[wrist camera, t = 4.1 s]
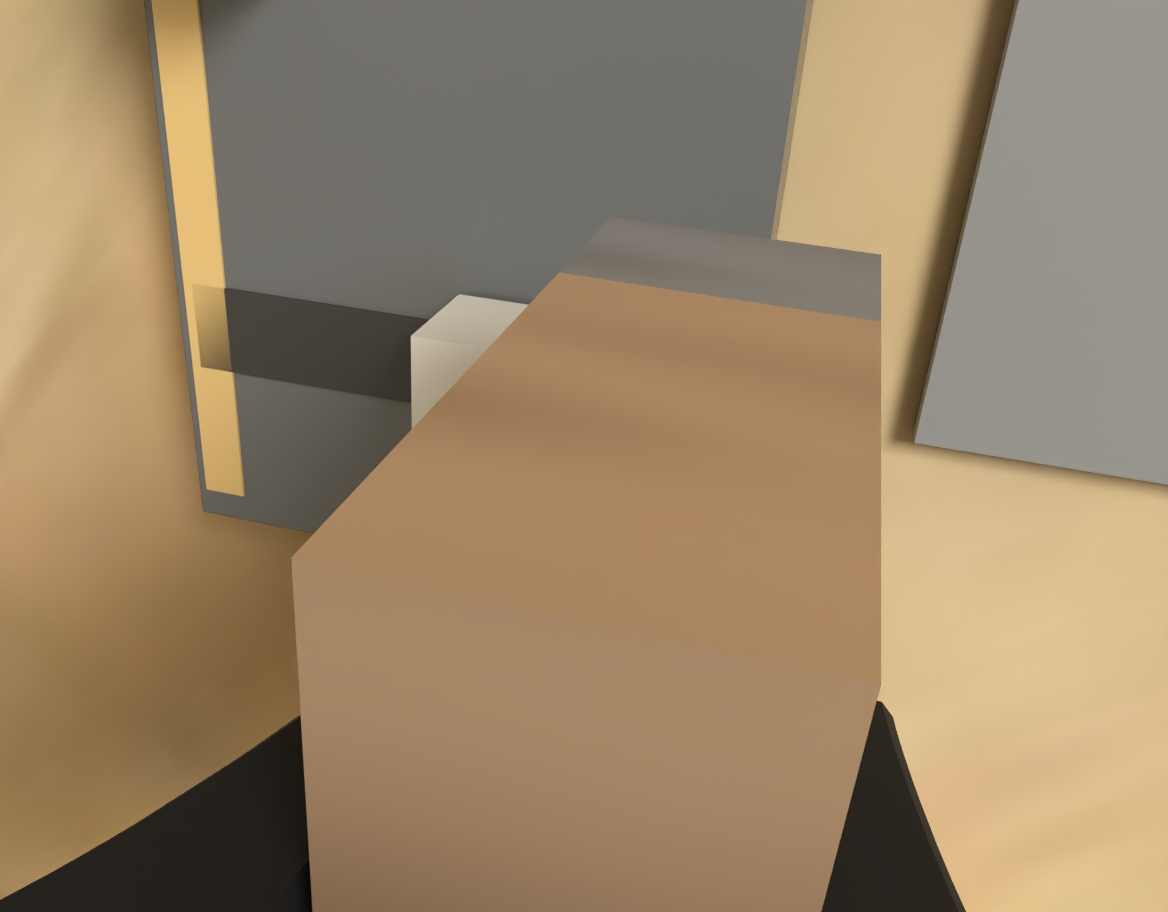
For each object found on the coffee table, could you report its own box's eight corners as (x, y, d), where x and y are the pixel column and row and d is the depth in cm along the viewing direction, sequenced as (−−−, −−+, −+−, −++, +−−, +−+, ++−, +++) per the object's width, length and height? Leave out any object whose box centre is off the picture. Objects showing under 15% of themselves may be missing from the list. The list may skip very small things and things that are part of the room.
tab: (556, 459, 16) (520, 517, 15) (457, 441, 16) (412, 495, 15) (565, 310, 15) (528, 354, 13) (458, 294, 15) (410, 335, 14)
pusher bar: (758, 836, 12) (668, 1495, 7) (560, 787, 13) (340, 1375, 8) (881, 254, 9) (881, 683, 4) (610, 216, 10) (289, 557, 4)
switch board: (726, 564, 18) (713, 616, 17) (248, 472, 20) (201, 512, 18) (857, -285, 13) (853, -310, 11) (177, -311, 14) (102, -336, 13)
